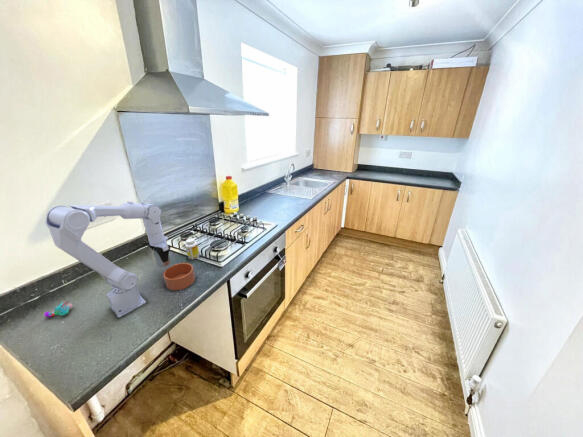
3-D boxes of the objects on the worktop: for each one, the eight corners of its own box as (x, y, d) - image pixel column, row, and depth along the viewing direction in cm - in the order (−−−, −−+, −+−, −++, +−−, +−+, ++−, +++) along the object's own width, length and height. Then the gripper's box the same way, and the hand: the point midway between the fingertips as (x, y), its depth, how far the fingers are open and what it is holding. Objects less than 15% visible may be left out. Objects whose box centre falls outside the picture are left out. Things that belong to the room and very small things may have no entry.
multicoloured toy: (54, 296, 88) (37, 308, 82) (76, 295, 89) (61, 307, 82) (58, 308, 90) (41, 320, 83) (80, 307, 90) (65, 319, 84)
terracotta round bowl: (174, 295, 95) (171, 283, 93) (161, 283, 102) (158, 272, 100) (200, 280, 104) (198, 269, 101) (186, 270, 110) (184, 259, 108)
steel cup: (160, 268, 99) (156, 252, 95) (155, 264, 102) (150, 248, 98) (172, 263, 102) (168, 247, 99) (167, 259, 105) (163, 243, 102)
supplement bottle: (200, 253, 123) (197, 237, 119) (198, 259, 118) (194, 242, 114) (190, 254, 123) (186, 237, 119) (186, 260, 118) (182, 243, 114)
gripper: (172, 233, 94) (179, 261, 100) (157, 223, 102) (164, 249, 108) (154, 239, 89) (163, 268, 95) (139, 229, 97) (148, 256, 103)
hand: (162, 259), depth 101 cm, fingers closed on steel cup, 5 cm apart
